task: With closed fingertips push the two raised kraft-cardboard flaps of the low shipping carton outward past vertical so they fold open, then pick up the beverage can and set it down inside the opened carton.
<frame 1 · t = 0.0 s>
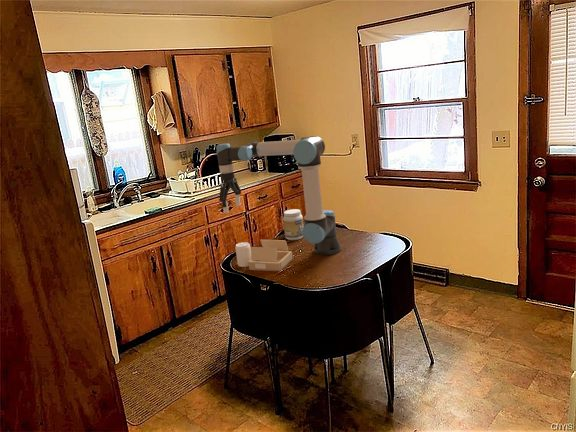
hand: (232, 209, 261), 28 cm above the table, fingers open, 13 cm apart
beverage can: (245, 265, 253), on the table
back flap: (274, 245, 253), point 9 cm above the table, hinge at 70.0°
carton: (271, 264, 250), on the table
supplement tub: (295, 237, 289), on the table
front flap: (263, 253, 242), point 9 cm above the table, hinge at 70.0°
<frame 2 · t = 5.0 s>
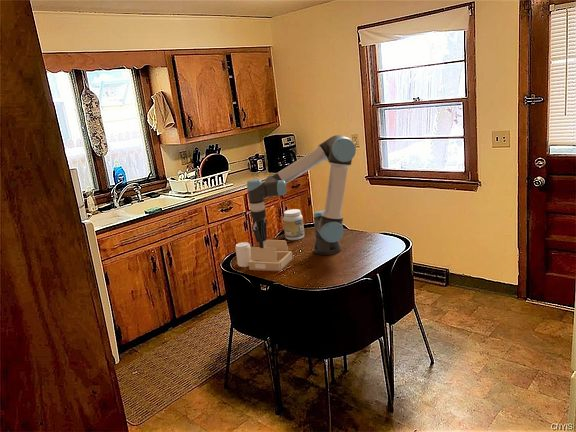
hand: (263, 253, 242), 9 cm above the table, fingers closed
front flap: (263, 253, 241), point 9 cm above the table, hinge at 78.1°, touching gripper
everything else where it was.
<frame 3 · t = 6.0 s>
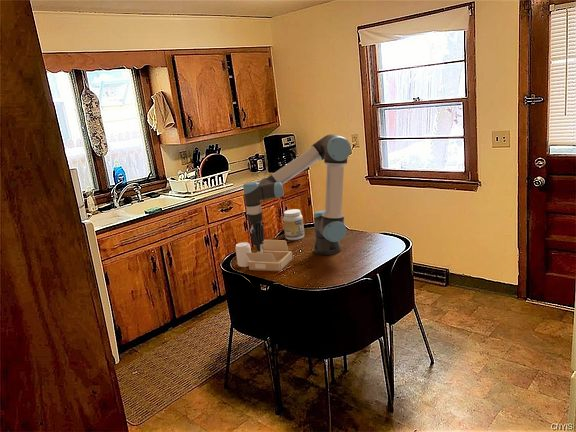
hand: (260, 256, 239), 8 cm above the table, fingers closed
front flap: (260, 257, 239), point 8 cm above the table, hinge at 123.1°, touching gripper
everything else where it was.
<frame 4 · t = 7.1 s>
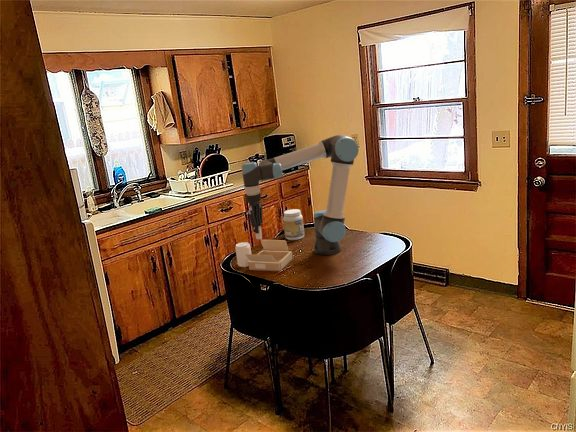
hand: (259, 238, 237), 18 cm above the table, fingers closed
front flap: (260, 257, 238), point 8 cm above the table, hinge at 130.7°
everything else where it was.
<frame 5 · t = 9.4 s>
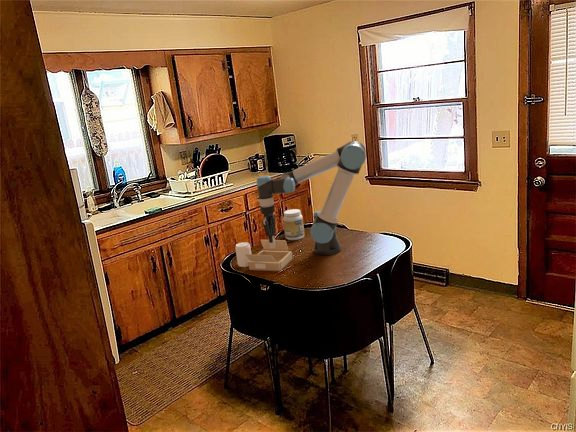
hand: (272, 247, 250), 8 cm above the table, fingers closed
back flap: (274, 244, 253), point 9 cm above the table, hinge at 70.2°, touching gripper
front flap: (260, 258, 238), point 8 cm above the table, hinge at 131.1°
everything else where it was.
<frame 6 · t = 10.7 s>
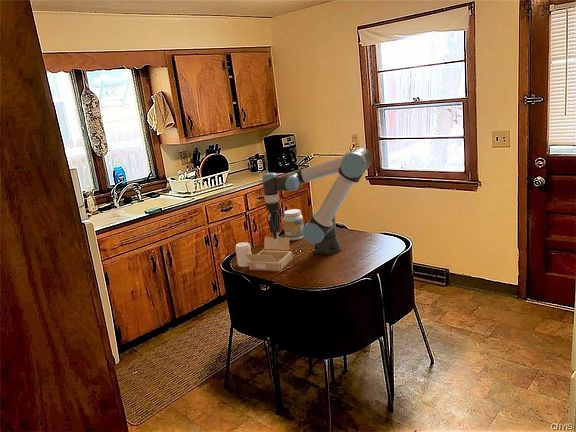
hand: (276, 243, 255), 9 cm above the table, fingers closed
back flap: (276, 243, 256), point 9 cm above the table, hinge at 112.2°, touching gripper
everything else where it was.
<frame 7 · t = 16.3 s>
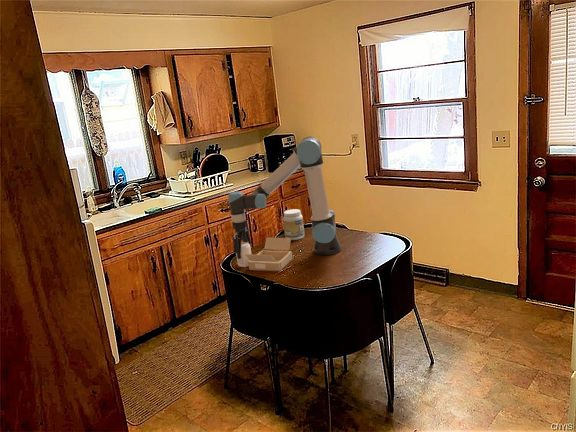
hand: (244, 260, 253), 2 cm above the table, fingers closed on beverage can, 8 cm apart
beverage can: (245, 265, 253), on the table, touching gripper
back flap: (277, 243, 257), point 8 cm above the table, hinge at 129.1°
everything else where it was.
when the fingers open (5 cm above the table, at t = 21.3 s): beverage can drops 2 cm, resting on carton.
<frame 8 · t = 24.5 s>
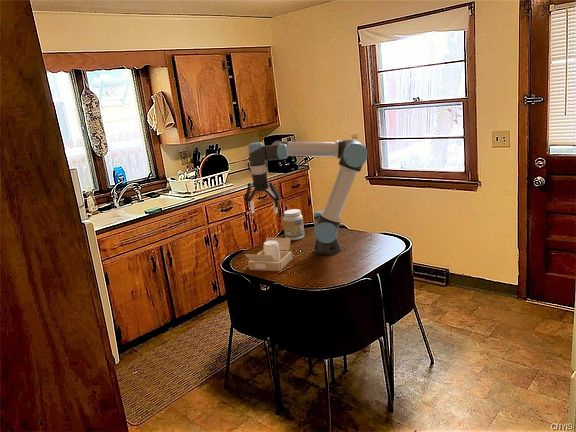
hand: (264, 213, 242), 29 cm above the table, fingers open, 13 cm apart
beverage can: (273, 263, 249), resting on carton
everything else where it was.
at the end: front flap at +131° (first picture: +70°); back flap at +129° (first picture: +70°); beverage can inside the target area on the carton (1.4 cm from its centre), point 0.4 cm above the carton's base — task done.
